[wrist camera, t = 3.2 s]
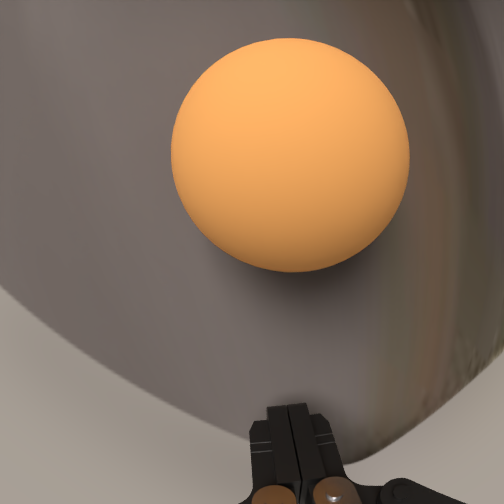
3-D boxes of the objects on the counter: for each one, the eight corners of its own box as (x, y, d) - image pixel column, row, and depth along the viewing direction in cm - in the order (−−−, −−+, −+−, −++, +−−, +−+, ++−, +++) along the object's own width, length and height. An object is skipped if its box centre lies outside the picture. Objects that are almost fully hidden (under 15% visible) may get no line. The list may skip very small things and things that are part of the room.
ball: (185, 77, 9) (135, 8, 4) (352, 74, 9) (447, 23, 4) (197, 241, 11) (164, 329, 5) (356, 231, 11) (446, 300, 6)
